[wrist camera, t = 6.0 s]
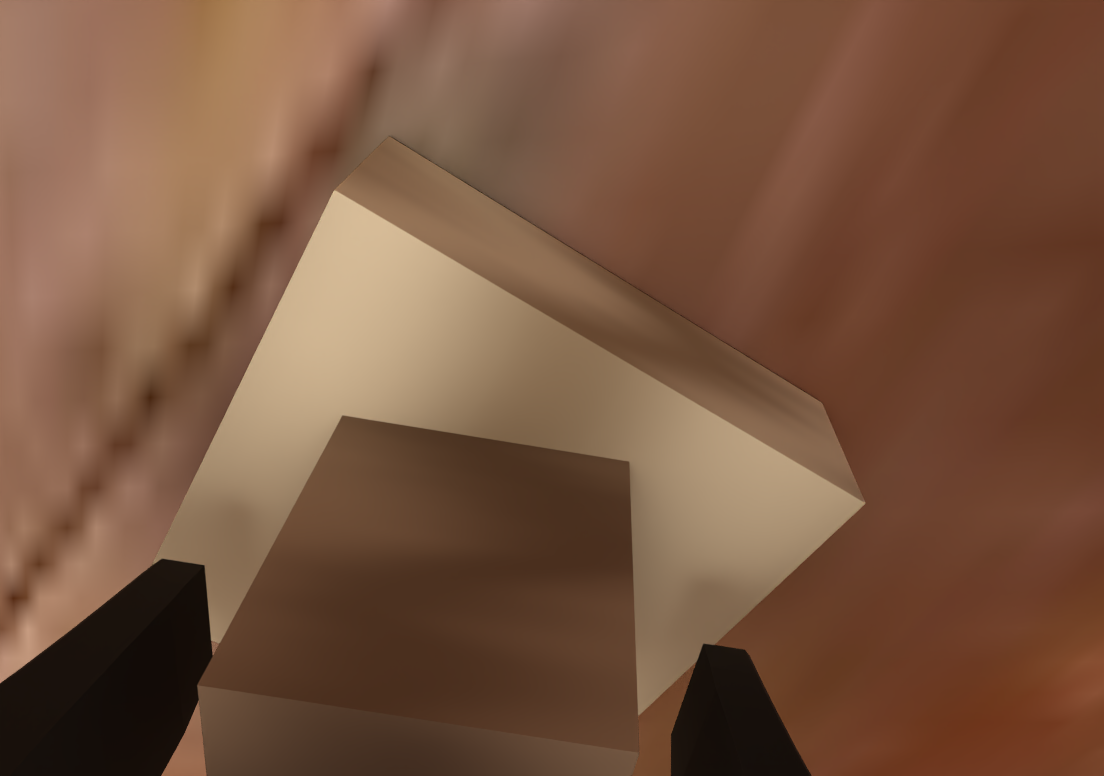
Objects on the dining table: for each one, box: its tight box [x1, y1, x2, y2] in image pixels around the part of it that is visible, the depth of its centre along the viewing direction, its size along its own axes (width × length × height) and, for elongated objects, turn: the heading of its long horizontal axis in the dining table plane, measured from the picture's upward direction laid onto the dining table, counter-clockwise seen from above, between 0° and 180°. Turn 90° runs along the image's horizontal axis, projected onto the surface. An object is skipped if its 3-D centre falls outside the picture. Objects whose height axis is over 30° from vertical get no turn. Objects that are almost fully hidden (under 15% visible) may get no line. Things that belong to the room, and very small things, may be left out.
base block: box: [152, 136, 865, 716], centre depth 15 cm, size 9×9×3 cm
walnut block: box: [197, 415, 639, 776], centre depth 11 cm, size 4×4×5 cm
